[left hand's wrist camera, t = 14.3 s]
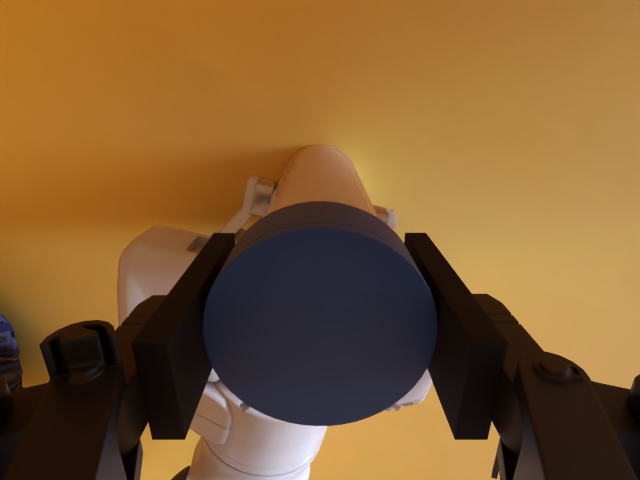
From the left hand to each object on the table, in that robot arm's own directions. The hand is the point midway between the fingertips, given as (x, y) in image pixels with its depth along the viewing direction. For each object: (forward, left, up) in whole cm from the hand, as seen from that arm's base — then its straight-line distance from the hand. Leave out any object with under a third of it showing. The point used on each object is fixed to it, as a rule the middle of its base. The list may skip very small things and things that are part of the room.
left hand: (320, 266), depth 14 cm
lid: (0, 0, +4) cm, 4 cm away
